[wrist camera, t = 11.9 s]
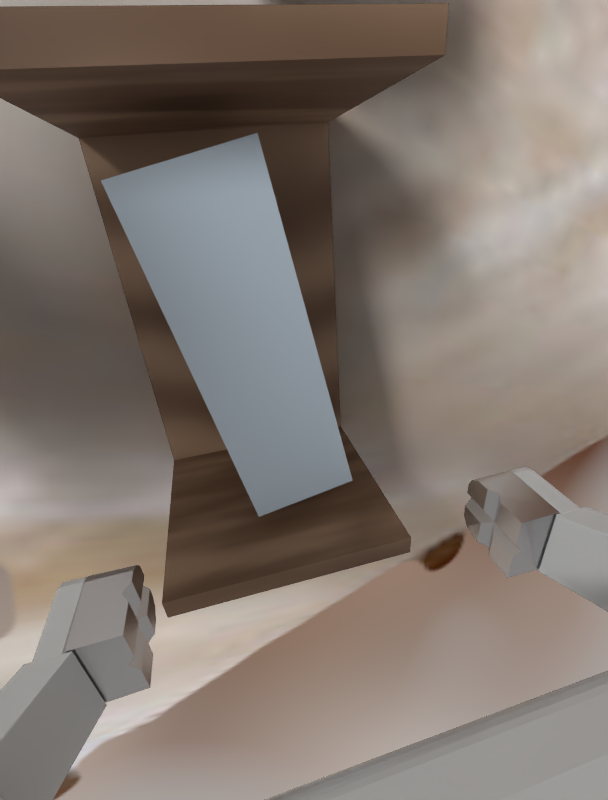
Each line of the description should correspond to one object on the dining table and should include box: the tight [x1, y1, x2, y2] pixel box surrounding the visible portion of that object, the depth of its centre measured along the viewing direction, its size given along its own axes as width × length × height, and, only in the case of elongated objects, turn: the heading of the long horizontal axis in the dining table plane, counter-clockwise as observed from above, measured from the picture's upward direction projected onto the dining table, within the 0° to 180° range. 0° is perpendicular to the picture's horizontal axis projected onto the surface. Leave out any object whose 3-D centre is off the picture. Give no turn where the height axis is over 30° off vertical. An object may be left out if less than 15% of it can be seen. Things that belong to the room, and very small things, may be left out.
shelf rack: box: [0, 3, 449, 617], centre depth 22 cm, size 24×14×14 cm, turn 5°
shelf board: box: [101, 133, 353, 517], centre depth 21 cm, size 18×6×4 cm, turn 16°
